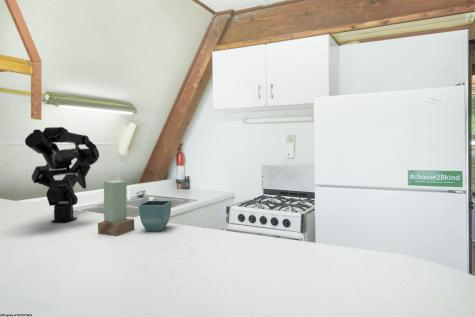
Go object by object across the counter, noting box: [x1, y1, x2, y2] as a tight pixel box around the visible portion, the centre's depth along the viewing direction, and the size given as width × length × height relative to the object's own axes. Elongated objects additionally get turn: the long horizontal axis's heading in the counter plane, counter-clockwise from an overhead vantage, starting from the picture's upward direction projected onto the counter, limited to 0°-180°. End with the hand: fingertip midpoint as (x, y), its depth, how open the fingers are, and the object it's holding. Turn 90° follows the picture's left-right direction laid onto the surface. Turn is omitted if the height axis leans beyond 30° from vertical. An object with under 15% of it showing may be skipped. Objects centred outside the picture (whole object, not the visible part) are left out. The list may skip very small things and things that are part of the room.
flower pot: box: [137, 200, 173, 232], centre depth 117 cm, size 9×9×9 cm
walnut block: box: [97, 217, 135, 237], centre depth 116 cm, size 8×8×4 cm
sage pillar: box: [103, 179, 128, 223], centre depth 115 cm, size 5×5×13 cm
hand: (72, 189), depth 120 cm, fingers open, 9 cm apart
